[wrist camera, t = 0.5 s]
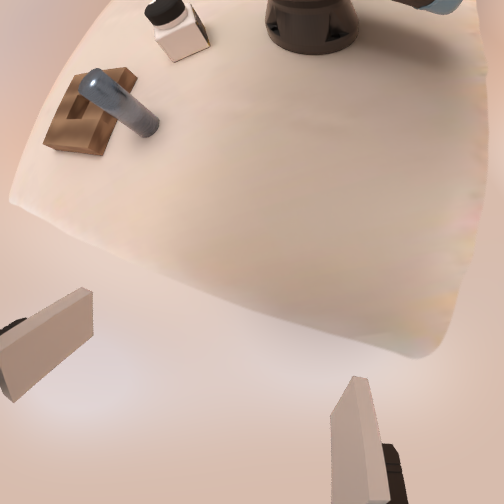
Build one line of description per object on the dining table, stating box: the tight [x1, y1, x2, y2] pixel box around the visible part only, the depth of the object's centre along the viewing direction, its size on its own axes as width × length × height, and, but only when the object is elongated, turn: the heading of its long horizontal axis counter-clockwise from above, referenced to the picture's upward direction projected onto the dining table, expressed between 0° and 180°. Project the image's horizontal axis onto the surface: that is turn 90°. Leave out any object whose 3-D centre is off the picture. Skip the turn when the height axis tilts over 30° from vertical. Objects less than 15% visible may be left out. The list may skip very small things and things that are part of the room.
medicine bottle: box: [145, 0, 210, 62], centre depth 37 cm, size 7×7×12 cm
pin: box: [78, 68, 159, 137], centre depth 35 cm, size 4×4×15 cm
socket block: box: [43, 67, 137, 156], centre depth 45 cm, size 16×16×4 cm
